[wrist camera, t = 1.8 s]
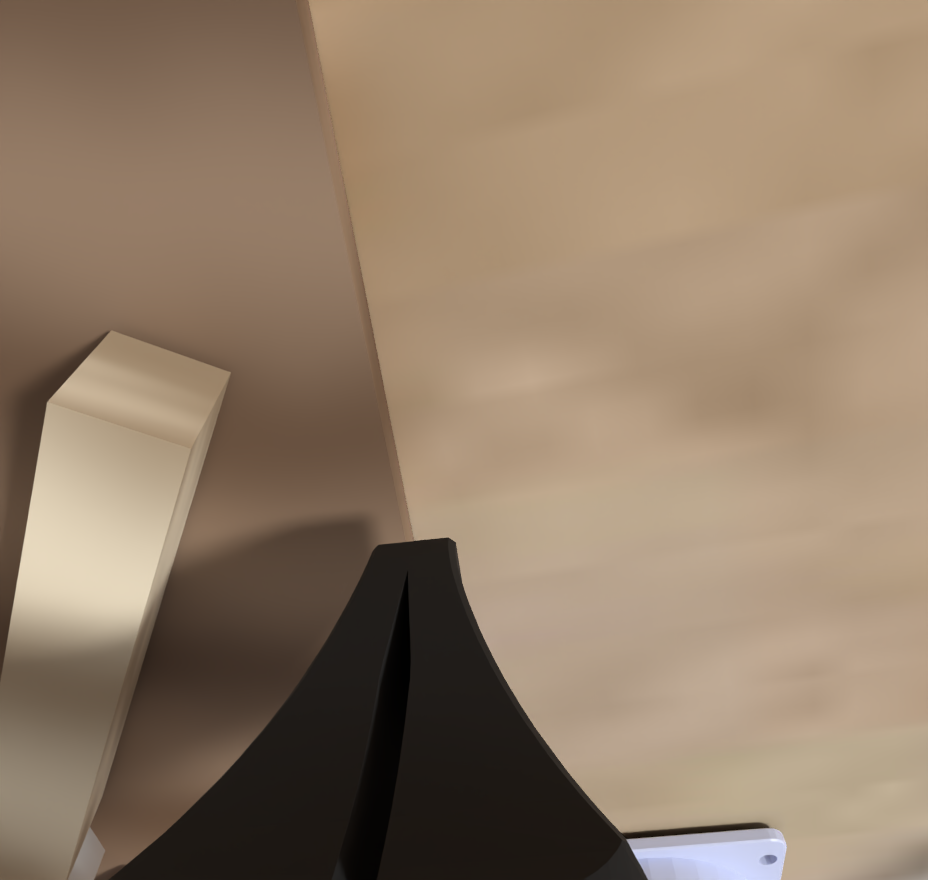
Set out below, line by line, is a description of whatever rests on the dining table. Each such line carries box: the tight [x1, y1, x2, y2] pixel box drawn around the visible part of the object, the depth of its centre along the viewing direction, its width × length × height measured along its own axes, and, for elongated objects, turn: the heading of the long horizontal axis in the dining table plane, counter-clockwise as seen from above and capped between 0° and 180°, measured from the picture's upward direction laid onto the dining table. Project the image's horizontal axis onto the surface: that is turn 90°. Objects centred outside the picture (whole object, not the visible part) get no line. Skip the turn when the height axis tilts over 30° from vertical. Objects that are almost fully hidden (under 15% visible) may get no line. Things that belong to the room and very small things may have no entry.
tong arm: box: [0, 330, 231, 880], centre depth 15 cm, size 13×2×2 cm, turn 157°
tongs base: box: [0, 0, 414, 880], centre depth 17 cm, size 26×18×4 cm
